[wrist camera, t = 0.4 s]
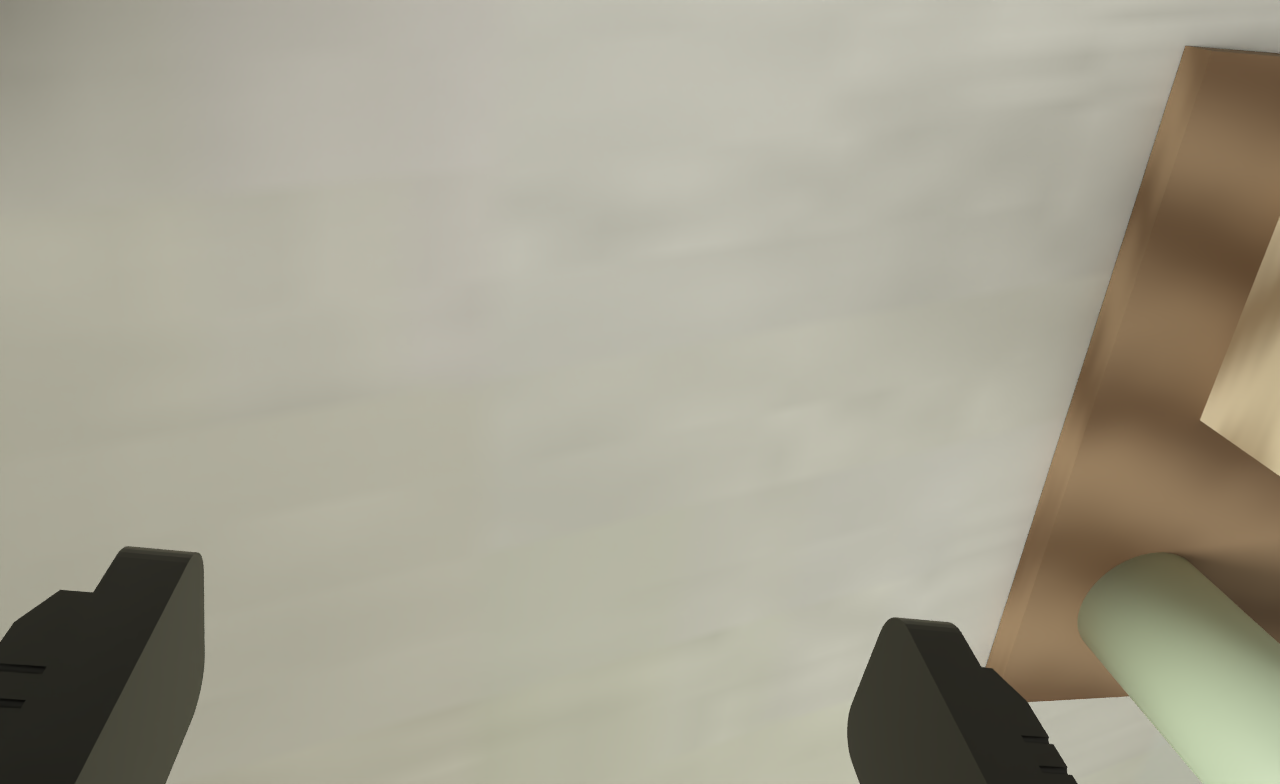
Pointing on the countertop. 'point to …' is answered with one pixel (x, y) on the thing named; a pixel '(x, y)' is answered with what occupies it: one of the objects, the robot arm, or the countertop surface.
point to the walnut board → (1162, 389)
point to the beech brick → (1253, 370)
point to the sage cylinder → (1190, 665)
